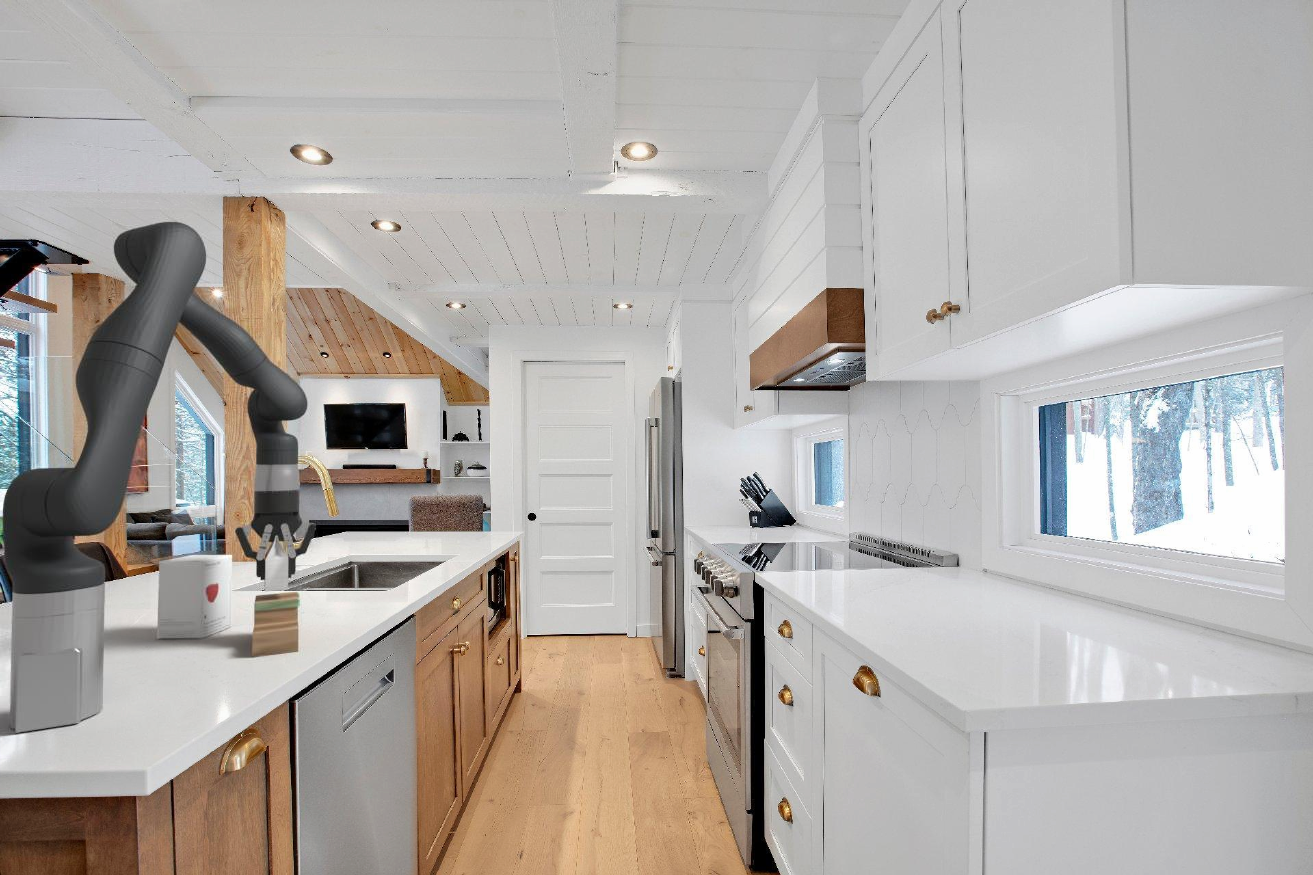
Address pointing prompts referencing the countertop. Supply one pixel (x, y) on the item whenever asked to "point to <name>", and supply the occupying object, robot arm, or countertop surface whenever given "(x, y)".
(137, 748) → the countertop surface
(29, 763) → the countertop surface
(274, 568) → the white milk carton
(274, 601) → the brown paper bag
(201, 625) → the supplement box
